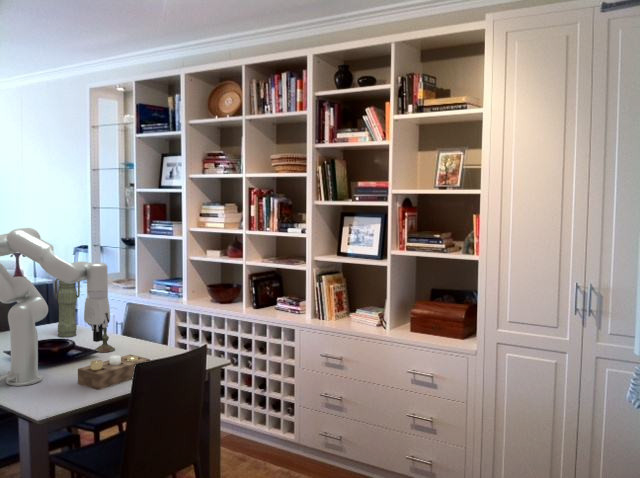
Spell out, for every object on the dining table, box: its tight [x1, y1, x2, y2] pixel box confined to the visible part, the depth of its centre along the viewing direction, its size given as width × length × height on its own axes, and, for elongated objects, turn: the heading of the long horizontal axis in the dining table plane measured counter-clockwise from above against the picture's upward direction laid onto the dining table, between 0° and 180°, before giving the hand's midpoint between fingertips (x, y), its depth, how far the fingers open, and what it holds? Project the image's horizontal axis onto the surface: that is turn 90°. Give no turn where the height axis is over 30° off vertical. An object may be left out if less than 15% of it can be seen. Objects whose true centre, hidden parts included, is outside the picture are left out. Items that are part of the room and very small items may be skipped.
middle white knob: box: [108, 354, 122, 366], centre depth 233 cm, size 4×4×6 cm
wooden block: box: [77, 353, 151, 391], centre depth 233 cm, size 26×12×6 cm, turn 150°
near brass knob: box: [90, 359, 104, 372], centre depth 225 cm, size 4×4×6 cm
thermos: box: [54, 278, 81, 339], centre depth 297 cm, size 9×12×35 cm
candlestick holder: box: [94, 327, 116, 354], centre depth 272 cm, size 9×9×30 cm
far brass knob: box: [127, 355, 138, 361], centre depth 240 cm, size 4×4×6 cm
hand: (97, 340), depth 224 cm, fingers closed
